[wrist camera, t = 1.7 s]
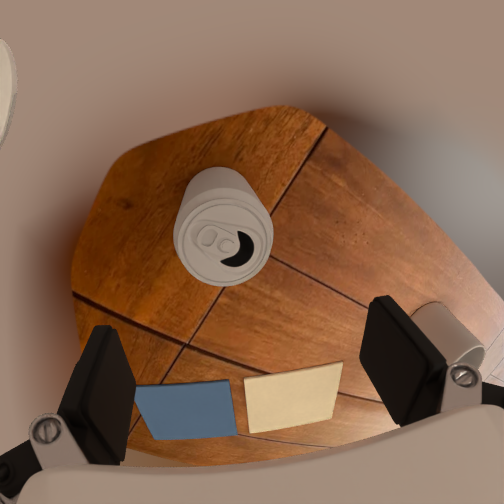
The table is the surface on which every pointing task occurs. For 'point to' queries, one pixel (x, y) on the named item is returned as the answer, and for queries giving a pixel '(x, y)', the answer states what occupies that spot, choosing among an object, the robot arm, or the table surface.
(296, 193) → the table surface
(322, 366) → the cream mat
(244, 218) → the beverage can
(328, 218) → the table surface
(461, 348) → the mug
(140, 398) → the blue mat
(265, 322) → the table surface
